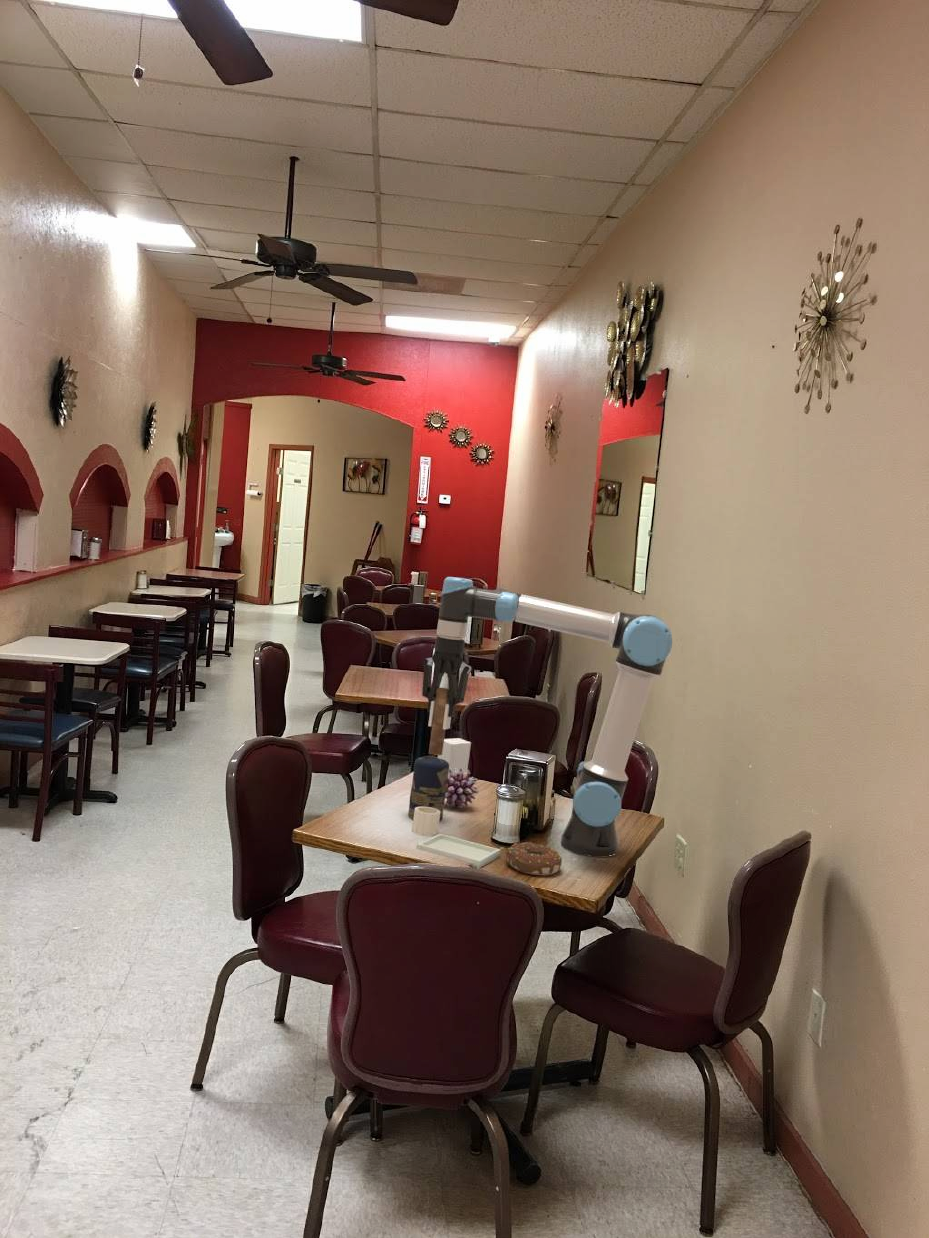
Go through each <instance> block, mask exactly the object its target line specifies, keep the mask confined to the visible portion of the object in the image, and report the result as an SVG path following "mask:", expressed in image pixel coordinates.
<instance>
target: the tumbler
mask: <svg viewBox="0 0 929 1238" xmlns="http://www.w3.org/2000/svg"><path fill="white" fill-rule="evenodd" d="M439 819H440V810H438V809H435V808H431V807H416V808H415V811H414V818H413V819H412V820H413V821H412V826H411V832H412V833H414V834H416V835H419V836H426V837H434V836H436V835H438V834H439V825H440V822H439Z"/></svg>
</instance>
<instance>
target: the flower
mask: <svg viewBox="0 0 929 1238" xmlns="http://www.w3.org/2000/svg"><path fill="white" fill-rule="evenodd" d="M449 773H450V774H449V775H448V780H447V788H446V794H445V799H446V804H447V806H448V807H450V805H454V806H455V808H456V809H461V808H462V805H463V804H464V805H465V806H466V807H468V803H469V804H473V800H475V799H476V797H475V796H474V794H478V793H479V790H478V786H475V784H476V782H478V779H477V778H475V777H473V776H470V775H471V772H470V770H469V769H467V771H466V772H464V773H463V772H462V768H460V769H459V771H458V770H457V768H454V772H452V771H451V769H449ZM472 799H473V800H472ZM453 803H454V804H453Z"/></svg>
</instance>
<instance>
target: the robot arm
mask: <svg viewBox="0 0 929 1238" xmlns="http://www.w3.org/2000/svg"><path fill="white" fill-rule="evenodd" d="M469 617H471V618H478V619H483V620H491V621H497V622H500V623H502V622H503V623H505V622H506V623H512V622H516V623H521V624H523V625H524V624H526V625H529V626H534V627H539V628H544V629H546V630H551V631H555V632H561V633H564V634H568V635H569V634H570V635H573V636H578V637H581V638H586V639H590V640H596V641H600V642H605V643H608V645H609V647H610V648H613V649H617V650H618V653H617V656H616V660H615V664H616V666H617V668H618V674H617V677H616V680H615V684H614V685H613V690H612V693H611V696H610V700H609V702H608V705H607V709H606V712H605V715H604V718H603V722H602V725H601V729H600V732H599V735H598V738H597V741H596V745H595V748H594V750H593V754H592V758H591V760H589V761H581V762H580V763H579V764H578V767H577V770H576V773H577V774H576V781H575V787H574V795H573V797H572V802H573V803H572V808H571V816H570V818H569V820H568V822H567V825H566V827H565V828H564V831H563V833H562V835H561V840H560V845H561V846H562V847H563V848H564V849H566V850H568V851H571V852H573V853H576V854H579V855H584V856H588V855H590V857H595V856H609V855H613V854H616V853H617V854H618V850H619V842H618V841H619V840H618V836H617V829H616V823H615V822H616V819H617V818H618V816H619V815H620V813H621V811H622V800H623V798H624V793H625V791H626V787H627V784H628V780H629V777H628V775H627V774H626V771H625V770H626V766H627V764H628V760H629V757H630V754H631V750H632V747H633V744H634V741H635V739H636V738H635V737H636V734H637V731H638V729H639V724H640V721H641V719H642V718H641V717H642V716H643V712H644V709H645V706H646V702H647V699H648V696H649V693H650V689H651V687H652V684H653V681H654V680H655V679H658V678H660V677H661V675H662V672H663V669H664V666H665V662H666V660H667V657H668V656H669V654H670V653H671V650H672V647H673V637H672V633H671V631H670V628H669V626H668V625H667V624H666V622H664V621H663V620H662V619H660V618H658V617H656V616H654V615H651V614H637V613H636V614H635V613H634V614H633V613H628V612H622V611H618V612H616V613H614V614H613V613H610V612H604V611H600V610H595V609H590V608H586V607H582V606H577V605H573V604H568V603H563V602H558V601H554V600H549V599H545V598H541V597H536V596H532V595H529V594H528V595H527V594H523V593H517V592H514V591H509V590H507V589H503V588H497V589H487V588H486V589H485V588H477V587H474V583H473V580H472V579H469V578H465V577H457V576H456V577H453V576H447V577H446V578H444V580H443V586H442V591H441V593H440V604H439V613H438V620H437V621H438V622H437V626H436V627H437V628H436V635H438V636H436V637H435V643H434V652H433V654H432V657H428V658H423V659H422V665H423V677H422V678H423V680H422V692H421V693H422V694H421V695H422V697H424V698H426V699H427V701H428V702H427V710H426V711H427V713H429V717H428V718H429V719H428V725H427V726H428V727H431V728H432V724H433V716H434V709H435V701H436V694H437V688H441V687H440V686H441V683H442V680H443V677H444V675H445V674H446V675H447V676H446V677H447V680H448V681H447V682H448V686H447V687H448V688H447V689H449V702H448V704H446V707H445V714H444V722H443V729H445V731H446V730H449V729H450V727H451V720H452V718H454V717H455V714H456V707H457V705H458V704H462V703H464V701H465V696H466V690H467V685H468V680H469V677H470V673H471V672H472V670H473V667H472V666H471V665H468V664H466V663H465V662H464V661H465V660H464V652H465V651H464V650H465V643H466V641H465V640H464V639H465V638H466V636H467V627H468V622H469V621H468V620H469ZM433 665H434V666H435V670H434V677H433ZM459 670H460V671H461V673H460V676H459V681H458V680H457V678H458V671H459ZM432 678H433V680H432ZM457 681H458V683H457ZM617 854H616V855H617Z"/></svg>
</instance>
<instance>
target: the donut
mask: <svg viewBox="0 0 929 1238" xmlns="http://www.w3.org/2000/svg"><path fill="white" fill-rule="evenodd" d="M505 856H506V860H507V862H508V865H509V866H510V867H512V868H513V869H515V870H517V871H519V872H521V873H525V874H528V875H529V874H530V875H534V876H550V875H554V874H555V873H557V872H559V871H560V869H561V867H562V860H563V859H562V857H561V855H560V854H559V852H558V851H557V850H555V848H553V847H550V846H547V845H545V844H544V845H542V844H537V843H533V842H527V841H526V842H519V843H517V842H515V843H513V844H512V845H511V846H510V847H508V848H507V849H505Z"/></svg>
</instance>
